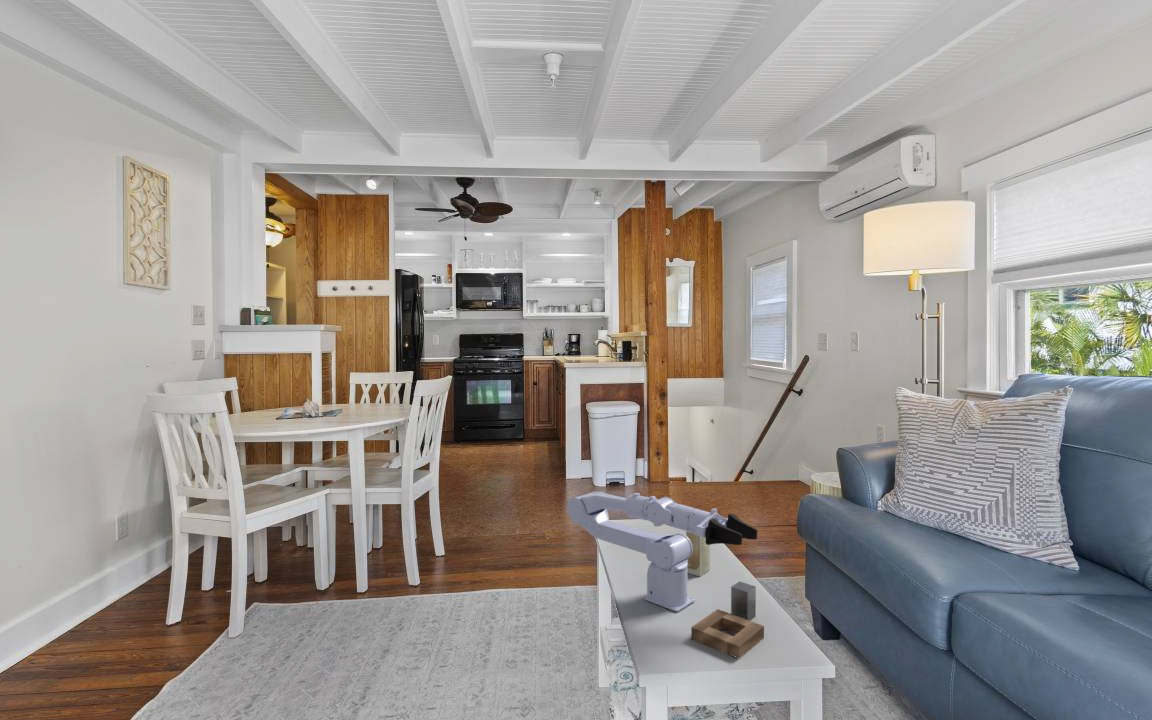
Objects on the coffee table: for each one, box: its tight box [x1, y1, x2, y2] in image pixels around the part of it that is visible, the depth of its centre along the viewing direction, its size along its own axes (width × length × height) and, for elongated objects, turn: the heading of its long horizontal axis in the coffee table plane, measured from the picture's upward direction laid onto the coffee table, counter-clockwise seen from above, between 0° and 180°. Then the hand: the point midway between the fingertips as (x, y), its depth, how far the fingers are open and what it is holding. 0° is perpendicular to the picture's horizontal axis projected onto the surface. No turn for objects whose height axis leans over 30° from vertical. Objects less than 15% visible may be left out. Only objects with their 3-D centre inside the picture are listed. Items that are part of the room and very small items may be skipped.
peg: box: [730, 581, 757, 621], centre depth 125 cm, size 4×4×7 cm
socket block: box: [690, 608, 765, 659], centre depth 116 cm, size 11×11×2 cm
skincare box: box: [685, 531, 711, 577], centre depth 151 cm, size 6×4×12 cm
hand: (749, 537), depth 119 cm, fingers open, 7 cm apart
